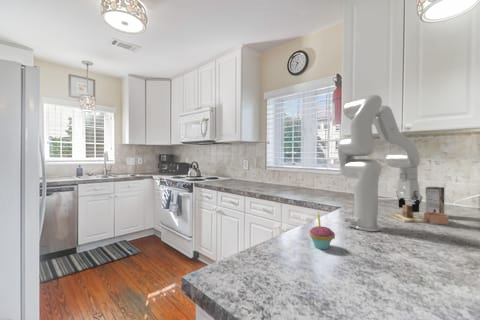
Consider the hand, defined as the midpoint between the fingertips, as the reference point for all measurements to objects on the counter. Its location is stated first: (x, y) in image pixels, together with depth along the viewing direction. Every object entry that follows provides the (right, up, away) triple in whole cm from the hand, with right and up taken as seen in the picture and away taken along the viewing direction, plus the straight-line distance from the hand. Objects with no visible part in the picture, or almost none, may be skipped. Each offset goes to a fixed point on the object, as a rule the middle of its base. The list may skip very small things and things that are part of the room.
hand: (408, 209), depth 117 cm
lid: (-1, -5, 0) cm, 5 cm away
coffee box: (+22, -6, +9) cm, 24 cm away
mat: (-1, -5, 0) cm, 5 cm away
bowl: (+11, -6, -4) cm, 13 cm away
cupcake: (-59, -5, -37) cm, 69 cm away
